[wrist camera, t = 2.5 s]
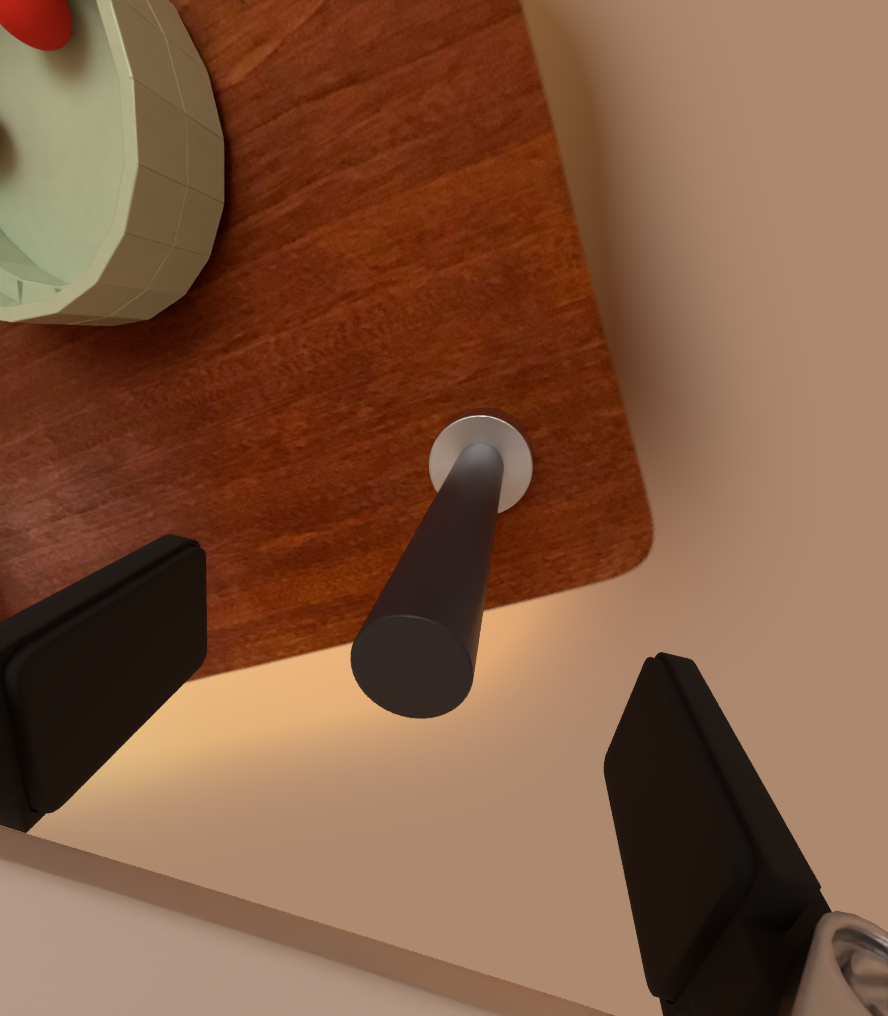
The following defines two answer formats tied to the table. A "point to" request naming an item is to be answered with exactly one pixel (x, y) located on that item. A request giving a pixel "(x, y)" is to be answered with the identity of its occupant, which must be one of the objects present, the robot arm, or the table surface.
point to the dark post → (444, 571)
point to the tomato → (38, 22)
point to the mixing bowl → (106, 168)
